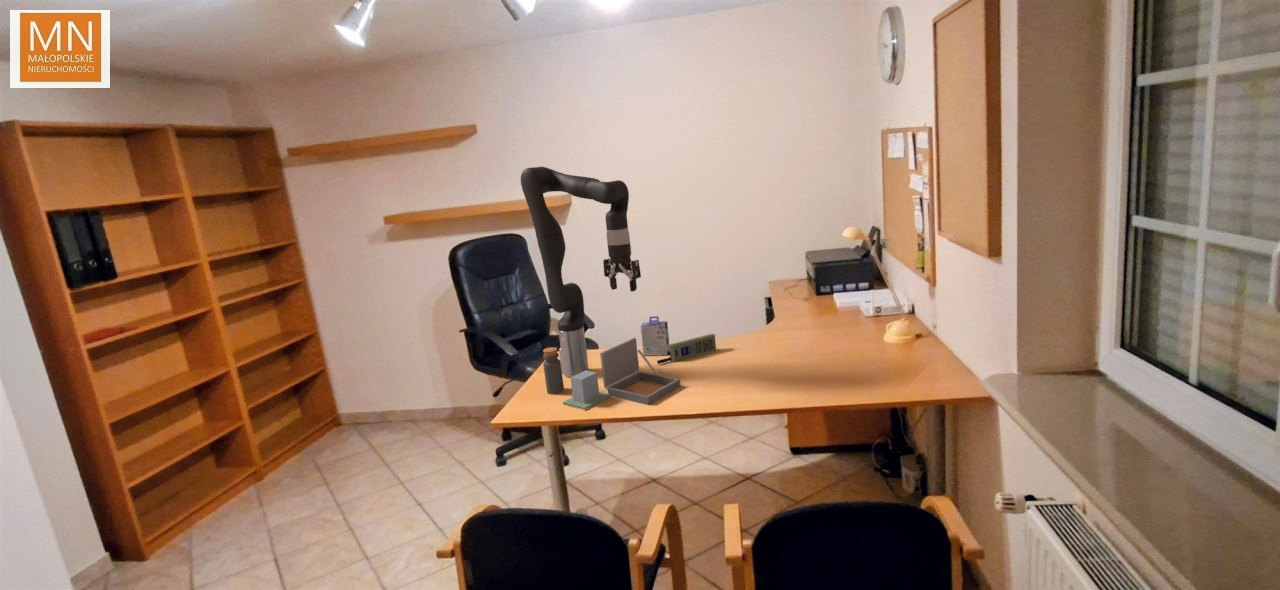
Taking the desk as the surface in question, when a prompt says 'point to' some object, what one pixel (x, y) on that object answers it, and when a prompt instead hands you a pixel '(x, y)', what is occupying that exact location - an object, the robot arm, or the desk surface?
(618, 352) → the case
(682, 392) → the desk surface
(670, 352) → the handheld radio
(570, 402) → the mat
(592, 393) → the block
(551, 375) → the bottle
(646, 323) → the ink cartridge box
